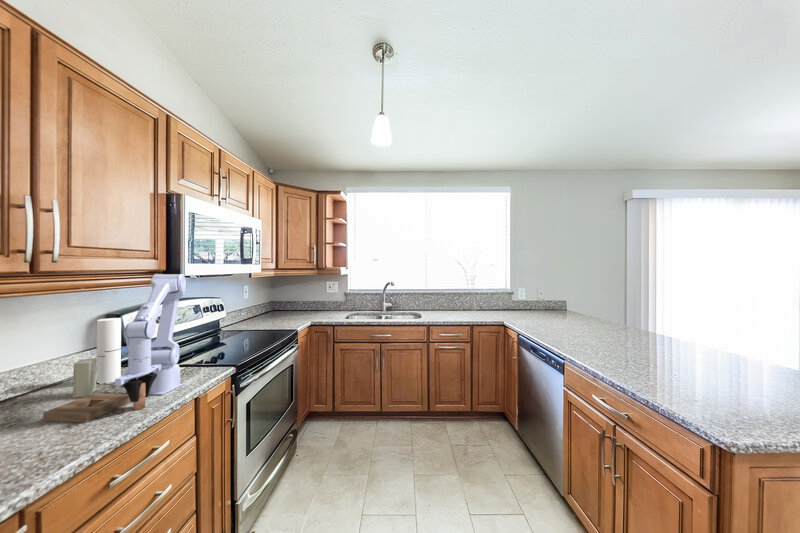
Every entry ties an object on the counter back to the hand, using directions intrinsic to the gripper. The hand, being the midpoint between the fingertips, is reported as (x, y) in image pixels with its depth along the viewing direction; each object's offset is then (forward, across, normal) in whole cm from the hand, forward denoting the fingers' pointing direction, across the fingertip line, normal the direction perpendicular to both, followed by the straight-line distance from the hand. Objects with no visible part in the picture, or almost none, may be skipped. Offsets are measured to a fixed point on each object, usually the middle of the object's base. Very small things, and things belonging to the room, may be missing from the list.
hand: (139, 399), depth 100 cm
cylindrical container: (+3, -22, -35) cm, 41 cm away
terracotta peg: (+3, 0, 0) cm, 3 cm away
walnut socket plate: (+3, +3, -14) cm, 15 cm away
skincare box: (+3, -9, -30) cm, 31 cm away
